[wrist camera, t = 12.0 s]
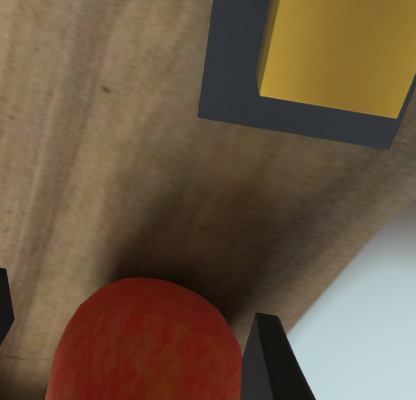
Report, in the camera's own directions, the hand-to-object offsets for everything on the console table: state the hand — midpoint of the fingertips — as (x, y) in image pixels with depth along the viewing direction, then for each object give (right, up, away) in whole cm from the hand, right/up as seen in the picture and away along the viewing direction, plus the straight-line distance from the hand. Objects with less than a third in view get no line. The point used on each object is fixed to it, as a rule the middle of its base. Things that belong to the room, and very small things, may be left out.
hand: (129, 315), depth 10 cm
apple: (-1, -4, +13) cm, 14 cm away
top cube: (+7, +10, +4) cm, 13 cm away
